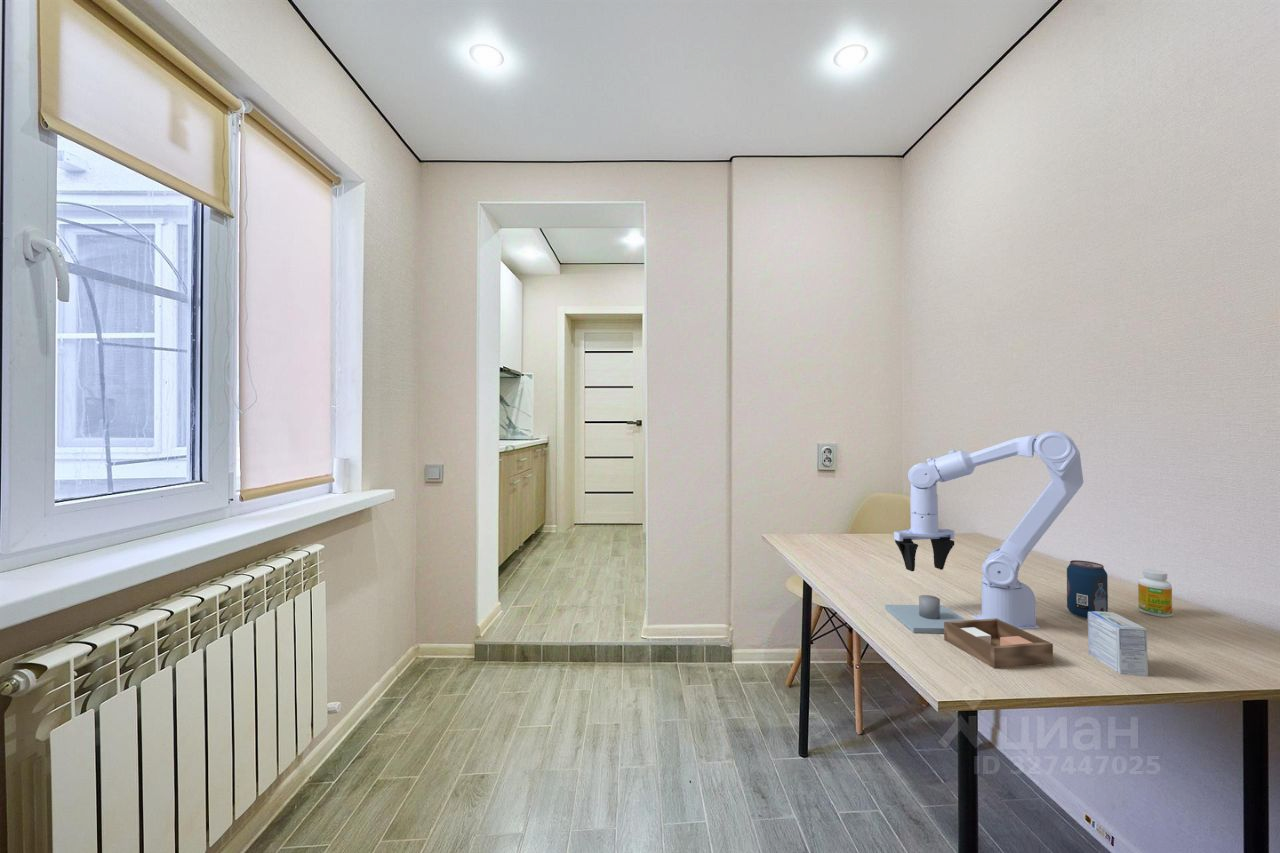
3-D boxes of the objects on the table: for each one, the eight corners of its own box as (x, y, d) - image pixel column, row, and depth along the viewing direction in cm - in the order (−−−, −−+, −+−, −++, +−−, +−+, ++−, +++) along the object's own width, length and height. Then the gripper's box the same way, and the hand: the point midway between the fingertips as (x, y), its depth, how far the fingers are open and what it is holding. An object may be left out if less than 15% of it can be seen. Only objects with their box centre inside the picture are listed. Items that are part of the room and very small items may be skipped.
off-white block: (974, 641, 99) (974, 627, 99) (991, 649, 95) (990, 635, 95) (956, 642, 98) (956, 628, 98) (972, 651, 94) (972, 636, 94)
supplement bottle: (1146, 615, 112) (1146, 573, 112) (1133, 607, 117) (1133, 566, 117) (1178, 618, 110) (1177, 575, 110) (1163, 610, 115) (1162, 569, 115)
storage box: (996, 637, 101) (996, 618, 101) (1053, 665, 89) (1052, 643, 89) (944, 641, 100) (943, 622, 100) (994, 670, 88) (994, 648, 88)
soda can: (1072, 608, 117) (1072, 557, 117) (1112, 617, 111) (1111, 564, 111) (1062, 614, 113) (1061, 562, 113) (1102, 624, 107) (1102, 569, 107)
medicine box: (1149, 678, 84) (1148, 628, 84) (1118, 676, 85) (1118, 626, 85) (1114, 657, 92) (1114, 611, 92) (1087, 655, 93) (1086, 610, 93)
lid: (943, 612, 116) (943, 588, 116) (980, 637, 102) (979, 609, 102) (885, 612, 116) (884, 587, 116) (913, 636, 103) (913, 608, 103)
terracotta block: (1018, 650, 95) (1018, 635, 95) (1038, 660, 91) (1037, 645, 91) (1000, 651, 94) (1000, 637, 94) (1019, 661, 90) (1018, 646, 90)
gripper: (939, 509, 123) (939, 563, 123) (885, 511, 121) (886, 566, 121) (961, 514, 116) (961, 571, 116) (904, 516, 114) (905, 574, 114)
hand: (924, 569), depth 118 cm, fingers open, 7 cm apart
